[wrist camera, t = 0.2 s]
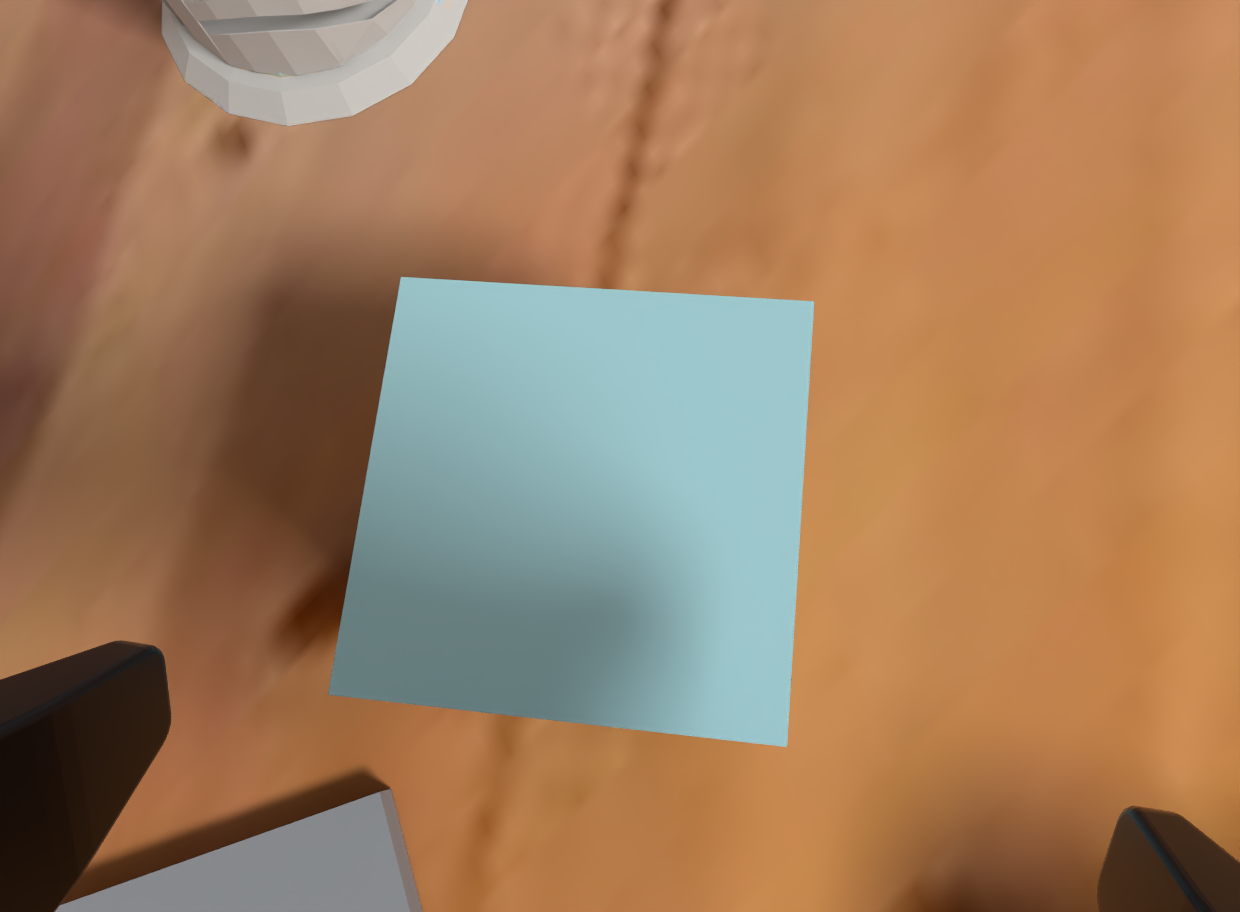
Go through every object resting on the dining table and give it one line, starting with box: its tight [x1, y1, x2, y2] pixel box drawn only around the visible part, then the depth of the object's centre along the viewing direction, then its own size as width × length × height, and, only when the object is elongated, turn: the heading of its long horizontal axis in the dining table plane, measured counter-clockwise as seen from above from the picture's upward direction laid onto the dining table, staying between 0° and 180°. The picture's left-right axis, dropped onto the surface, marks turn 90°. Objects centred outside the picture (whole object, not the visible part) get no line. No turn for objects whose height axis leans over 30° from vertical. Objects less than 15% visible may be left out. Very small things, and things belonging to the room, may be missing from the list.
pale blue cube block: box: [328, 277, 814, 747], centre depth 19 cm, size 7×7×9 cm
